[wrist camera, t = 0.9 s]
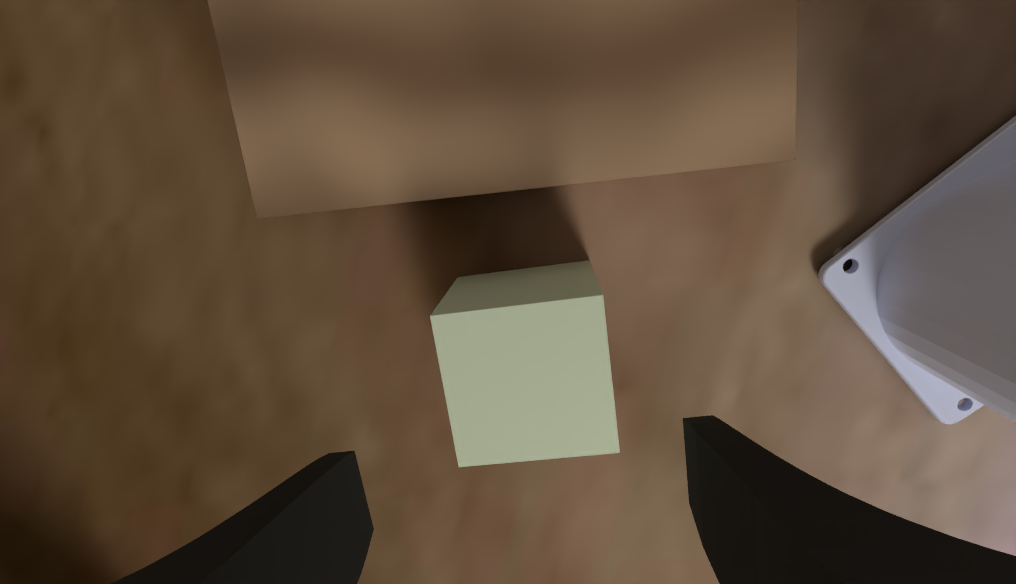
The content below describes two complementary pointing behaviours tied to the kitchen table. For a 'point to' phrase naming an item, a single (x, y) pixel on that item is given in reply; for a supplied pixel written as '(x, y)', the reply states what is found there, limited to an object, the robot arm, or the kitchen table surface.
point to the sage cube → (526, 365)
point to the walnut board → (499, 94)
